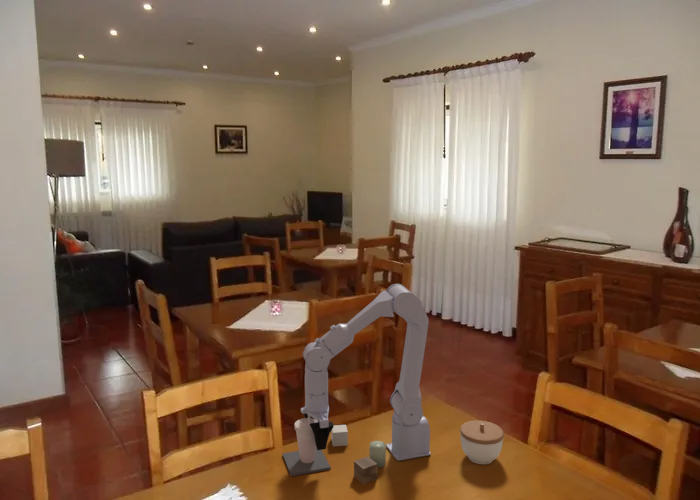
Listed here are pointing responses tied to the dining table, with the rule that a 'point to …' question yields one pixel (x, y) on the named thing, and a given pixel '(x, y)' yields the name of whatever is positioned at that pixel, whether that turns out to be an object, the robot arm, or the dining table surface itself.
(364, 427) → the dining table surface
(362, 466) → the walnut block
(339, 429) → the grey block
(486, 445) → the lidded jar
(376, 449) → the sage tin
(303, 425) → the smoothie
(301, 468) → the mat
